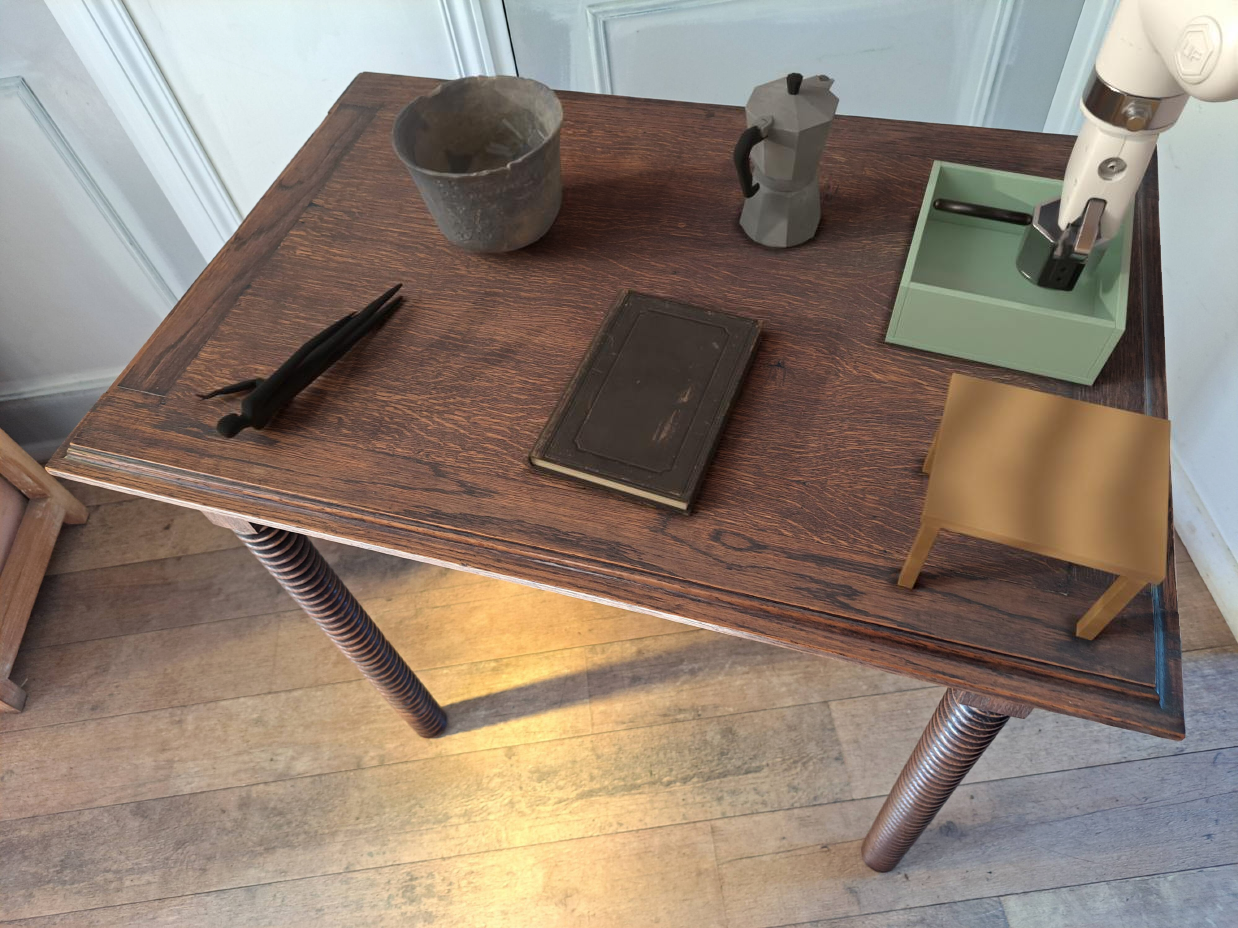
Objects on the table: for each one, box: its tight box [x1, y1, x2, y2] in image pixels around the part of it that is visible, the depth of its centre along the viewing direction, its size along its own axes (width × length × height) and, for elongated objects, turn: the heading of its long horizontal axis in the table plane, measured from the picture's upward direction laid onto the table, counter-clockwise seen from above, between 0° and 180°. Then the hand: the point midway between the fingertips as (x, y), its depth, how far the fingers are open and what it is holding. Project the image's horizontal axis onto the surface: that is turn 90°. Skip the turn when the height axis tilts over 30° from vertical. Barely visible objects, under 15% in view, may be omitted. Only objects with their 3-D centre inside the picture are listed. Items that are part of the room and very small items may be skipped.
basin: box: [884, 159, 1136, 387], centre depth 86 cm, size 20×20×8 cm
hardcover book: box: [527, 288, 765, 516], centre depth 84 cm, size 16×23×2 cm
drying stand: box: [897, 372, 1172, 641], centre depth 68 cm, size 16×14×12 cm
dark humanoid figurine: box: [194, 282, 404, 439], centre depth 89 cm, size 8×9×25 cm
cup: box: [390, 74, 564, 254], centre depth 94 cm, size 18×18×15 cm
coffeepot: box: [732, 72, 840, 248], centre depth 90 cm, size 15×9×18 cm, turn 137°
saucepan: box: [933, 195, 1113, 291], centre depth 83 cm, size 16×7×6 cm, turn 69°
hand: (1058, 258), depth 83 cm, fingers closed on saucepan, 7 cm apart
